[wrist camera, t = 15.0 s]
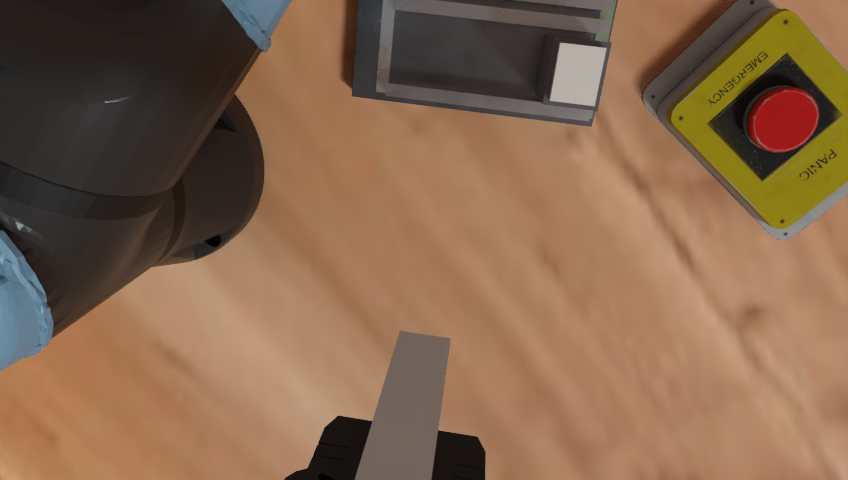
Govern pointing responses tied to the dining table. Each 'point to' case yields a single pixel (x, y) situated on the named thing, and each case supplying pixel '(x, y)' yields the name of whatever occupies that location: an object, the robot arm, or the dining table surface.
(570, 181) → the dining table surface
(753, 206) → the emergency button
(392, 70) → the panel
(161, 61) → the robot arm
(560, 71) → the breaker
